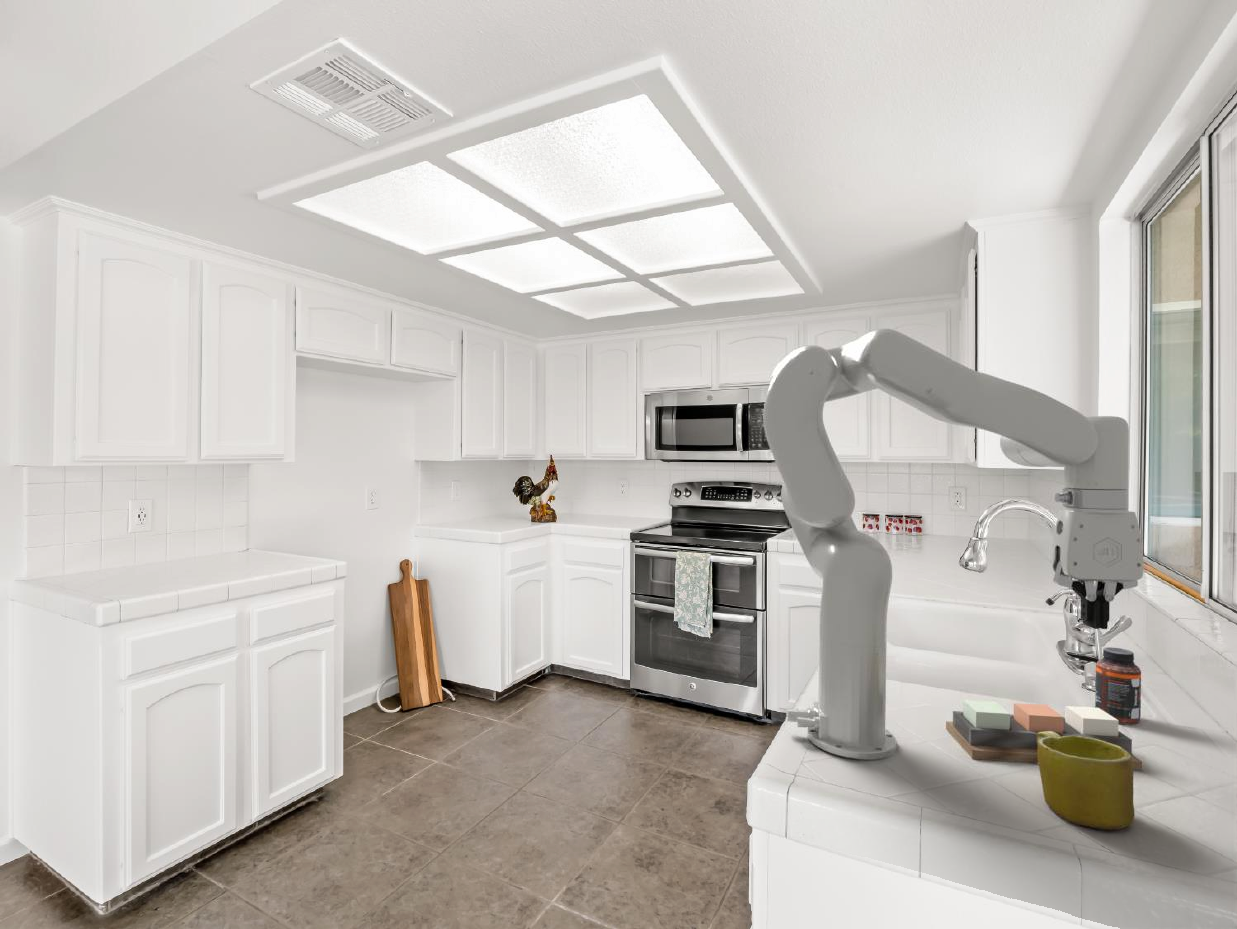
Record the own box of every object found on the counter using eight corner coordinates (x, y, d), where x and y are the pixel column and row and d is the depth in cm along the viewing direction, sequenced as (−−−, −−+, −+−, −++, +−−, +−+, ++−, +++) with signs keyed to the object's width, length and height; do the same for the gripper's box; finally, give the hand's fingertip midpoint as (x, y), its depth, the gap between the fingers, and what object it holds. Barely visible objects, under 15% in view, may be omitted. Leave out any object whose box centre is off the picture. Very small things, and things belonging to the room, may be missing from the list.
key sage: (975, 728, 93) (976, 712, 93) (963, 715, 98) (963, 700, 98) (1009, 730, 92) (1009, 714, 92) (995, 717, 97) (995, 701, 97)
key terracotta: (1028, 731, 92) (1029, 715, 92) (1013, 718, 97) (1013, 703, 97) (1063, 733, 91) (1063, 717, 91) (1046, 720, 96) (1046, 704, 96)
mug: (1177, 830, 70) (1136, 736, 72) (1078, 849, 72) (1042, 756, 74) (1119, 796, 82) (1085, 716, 84) (1035, 812, 83) (1005, 733, 86)
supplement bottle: (1149, 727, 102) (1150, 657, 102) (1107, 724, 103) (1108, 654, 103) (1127, 713, 108) (1128, 646, 108) (1087, 709, 109) (1088, 644, 109)
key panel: (972, 758, 91) (972, 734, 91) (946, 729, 100) (946, 706, 100) (1142, 770, 88) (1142, 745, 88) (1097, 738, 98) (1098, 715, 97)
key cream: (1083, 735, 91) (1083, 718, 91) (1065, 721, 96) (1065, 706, 96) (1118, 737, 90) (1118, 720, 90) (1098, 723, 95) (1098, 707, 95)
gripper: (1054, 502, 90) (1053, 632, 90) (1170, 503, 88) (1170, 635, 88) (1027, 499, 97) (1026, 618, 98) (1134, 500, 95) (1133, 621, 96)
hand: (1094, 626), depth 93 cm, fingers closed
